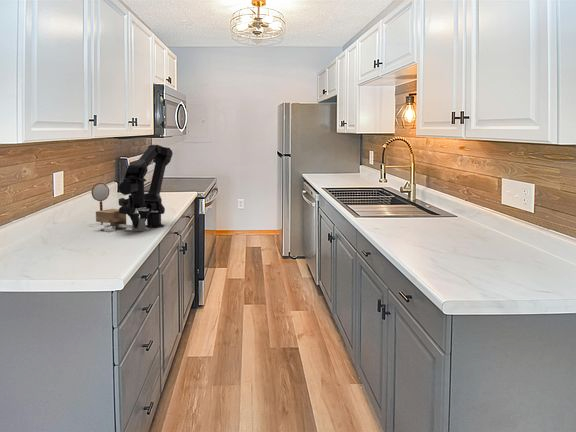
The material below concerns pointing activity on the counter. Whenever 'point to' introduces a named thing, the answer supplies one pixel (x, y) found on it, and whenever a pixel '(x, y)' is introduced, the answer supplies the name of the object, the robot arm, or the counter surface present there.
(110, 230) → the steel puck
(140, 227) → the spatula tool
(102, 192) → the magnifying glass
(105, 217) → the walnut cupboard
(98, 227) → the counter surface
